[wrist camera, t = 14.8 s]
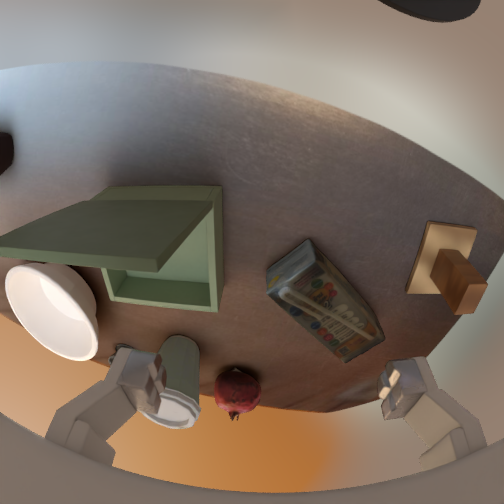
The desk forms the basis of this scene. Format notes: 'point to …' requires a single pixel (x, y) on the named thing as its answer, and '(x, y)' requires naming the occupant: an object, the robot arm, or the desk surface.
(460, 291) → the brown wooden block
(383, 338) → the beverage carton
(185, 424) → the disposable coffee cup
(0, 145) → the dark brown plant pot
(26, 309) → the bowl
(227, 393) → the fruit
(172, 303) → the green box base
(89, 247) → the lid
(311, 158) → the desk surface
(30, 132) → the desk surface
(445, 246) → the board
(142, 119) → the desk surface
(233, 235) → the desk surface
